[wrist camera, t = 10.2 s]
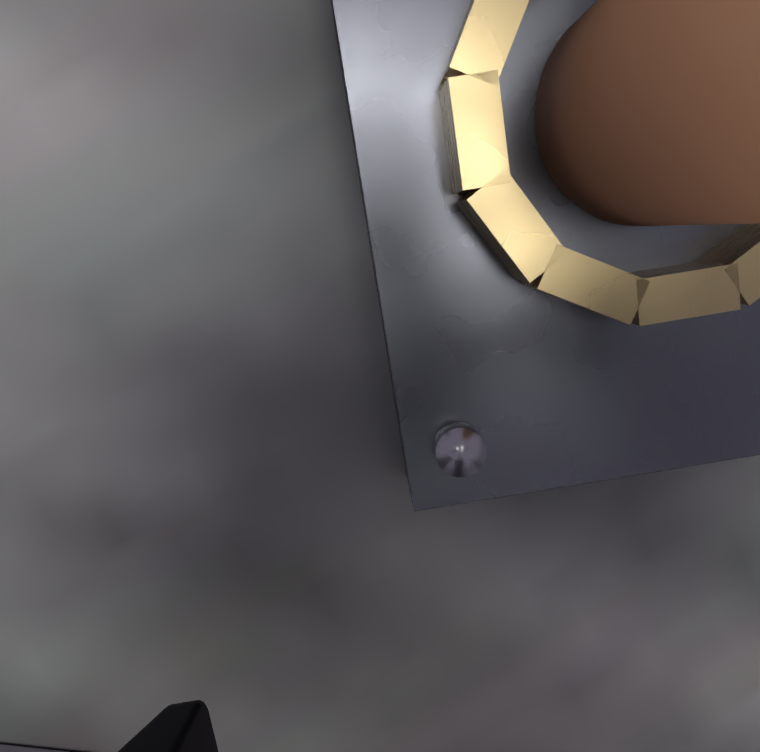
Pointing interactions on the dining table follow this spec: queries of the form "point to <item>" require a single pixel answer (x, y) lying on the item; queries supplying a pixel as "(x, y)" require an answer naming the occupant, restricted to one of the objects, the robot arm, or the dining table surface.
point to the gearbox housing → (530, 273)
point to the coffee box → (24, 749)
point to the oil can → (656, 112)
